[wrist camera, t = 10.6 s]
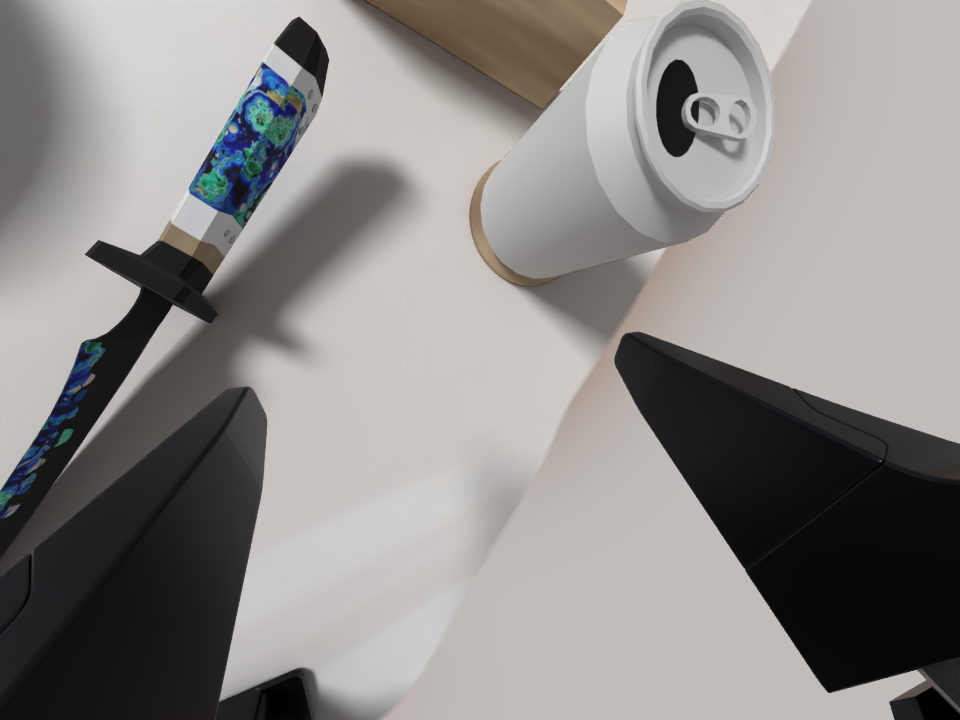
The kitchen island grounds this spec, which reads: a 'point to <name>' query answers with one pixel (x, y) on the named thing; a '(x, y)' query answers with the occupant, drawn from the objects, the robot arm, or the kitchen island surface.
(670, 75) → the can
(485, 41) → the plinth board
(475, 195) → the coaster
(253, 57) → the kitchen island surface
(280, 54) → the knife
